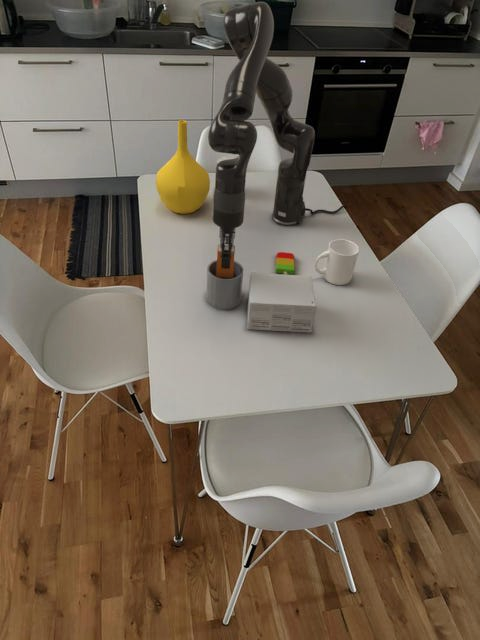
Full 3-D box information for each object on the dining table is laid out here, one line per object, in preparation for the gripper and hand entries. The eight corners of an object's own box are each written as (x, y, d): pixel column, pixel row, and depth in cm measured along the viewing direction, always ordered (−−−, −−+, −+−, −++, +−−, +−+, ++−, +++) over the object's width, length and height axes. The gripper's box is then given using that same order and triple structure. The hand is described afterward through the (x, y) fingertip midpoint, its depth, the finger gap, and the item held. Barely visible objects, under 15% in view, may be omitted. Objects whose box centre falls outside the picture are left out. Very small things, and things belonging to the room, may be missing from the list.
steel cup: (241, 288, 144) (243, 259, 138) (240, 310, 137) (243, 281, 130) (207, 286, 144) (208, 257, 137) (205, 308, 137) (206, 278, 130)
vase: (219, 206, 179) (223, 121, 160) (186, 226, 168) (185, 137, 148) (180, 189, 187) (179, 107, 167) (146, 207, 175) (140, 121, 156)
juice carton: (233, 270, 136) (234, 244, 131) (232, 278, 134) (234, 251, 128) (216, 269, 136) (218, 243, 131) (216, 277, 133) (217, 250, 128)
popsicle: (293, 257, 158) (294, 252, 157) (294, 286, 147) (295, 281, 145) (276, 256, 158) (276, 251, 157) (275, 284, 147) (276, 279, 145)
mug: (308, 269, 154) (314, 239, 146) (346, 268, 155) (353, 238, 148) (315, 286, 147) (322, 256, 140) (354, 285, 149) (363, 255, 142)
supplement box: (307, 302, 142) (312, 275, 135) (311, 333, 132) (317, 306, 125) (247, 298, 141) (249, 271, 135) (247, 329, 131) (249, 302, 125)
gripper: (244, 220, 116) (239, 280, 127) (244, 191, 127) (240, 249, 138) (211, 218, 116) (210, 278, 127) (214, 189, 126) (212, 247, 138)
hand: (225, 263), depth 133 cm, fingers closed on juice carton, 3 cm apart
